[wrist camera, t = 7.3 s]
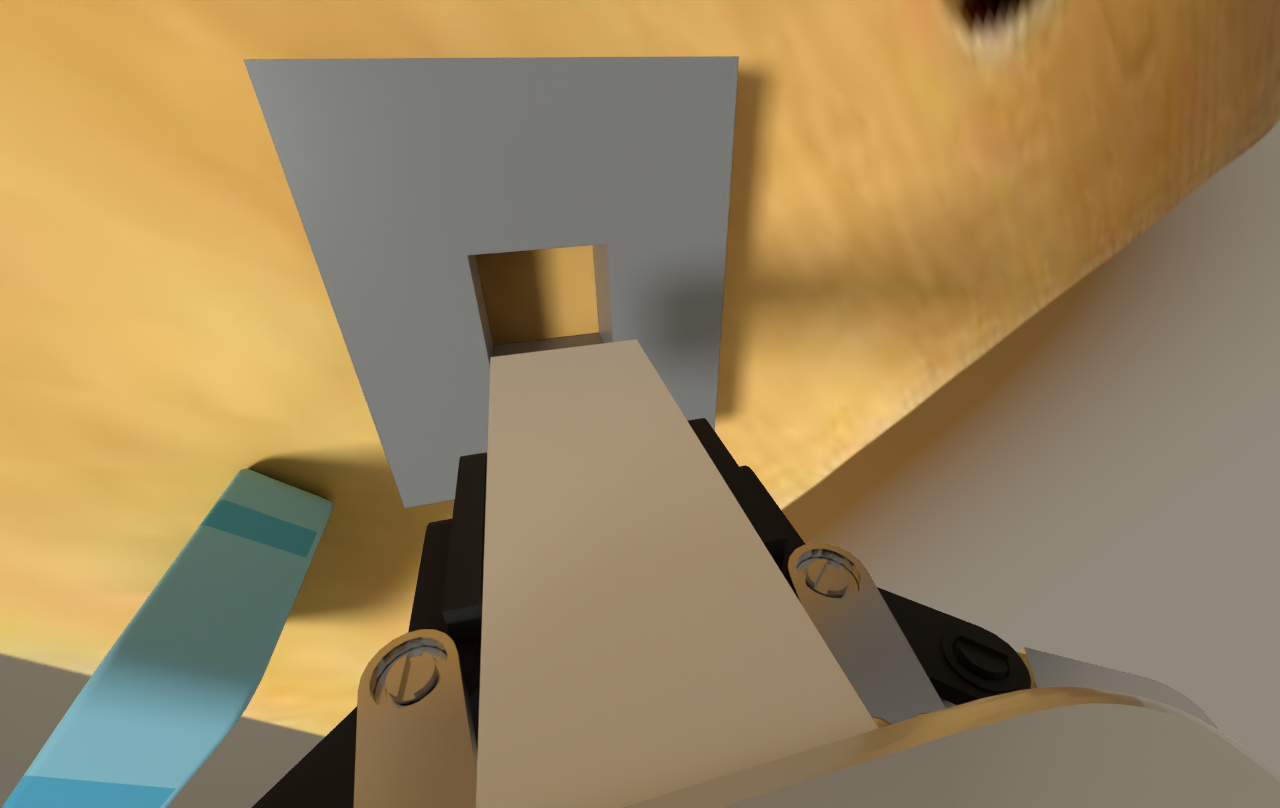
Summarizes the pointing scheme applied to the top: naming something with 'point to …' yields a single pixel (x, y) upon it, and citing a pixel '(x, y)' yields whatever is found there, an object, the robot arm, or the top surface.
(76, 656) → the top surface
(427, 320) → the socket plate
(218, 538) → the data package
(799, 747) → the plug
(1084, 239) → the top surface
